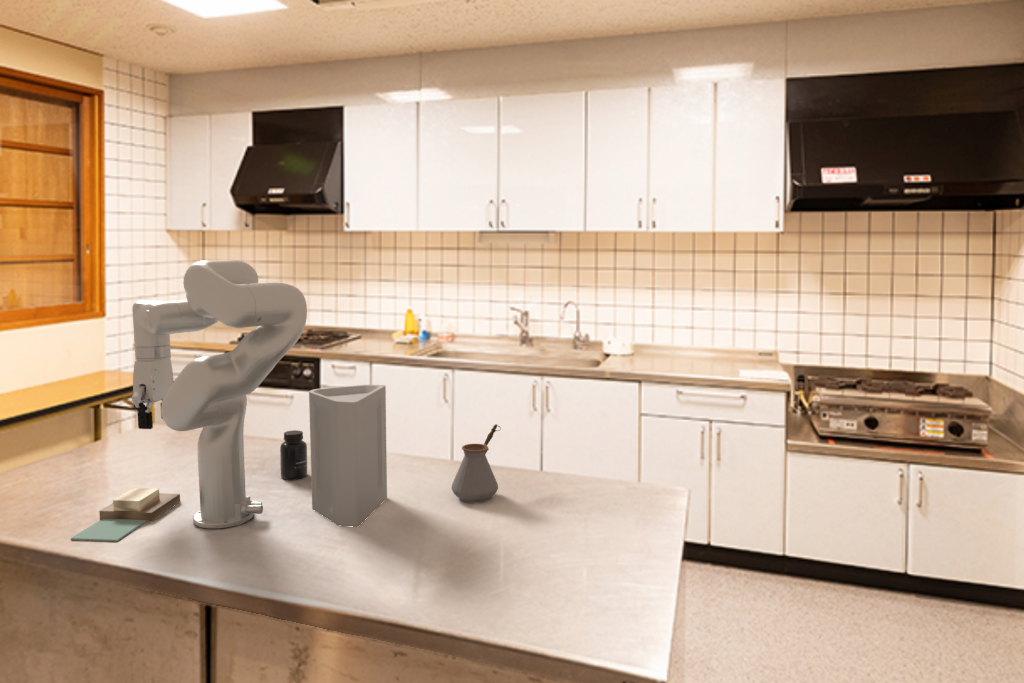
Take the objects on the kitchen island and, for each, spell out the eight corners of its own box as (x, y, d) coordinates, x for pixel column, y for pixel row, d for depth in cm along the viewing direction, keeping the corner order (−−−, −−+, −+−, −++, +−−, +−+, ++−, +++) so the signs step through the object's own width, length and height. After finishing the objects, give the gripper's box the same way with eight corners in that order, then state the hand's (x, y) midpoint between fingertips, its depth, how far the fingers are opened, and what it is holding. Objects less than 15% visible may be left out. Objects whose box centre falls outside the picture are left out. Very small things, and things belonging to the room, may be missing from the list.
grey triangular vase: (331, 493, 176) (328, 382, 173) (388, 497, 174) (386, 385, 170) (295, 522, 158) (291, 399, 154) (358, 527, 155) (355, 402, 151)
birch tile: (159, 498, 166) (158, 488, 165) (139, 511, 158) (139, 501, 157) (134, 497, 166) (134, 488, 166) (113, 510, 158) (113, 500, 158)
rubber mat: (146, 521, 157) (146, 519, 157) (117, 541, 146) (117, 539, 146) (103, 520, 158) (103, 518, 158) (70, 539, 147) (70, 538, 147)
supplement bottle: (303, 480, 185) (301, 436, 184) (277, 480, 185) (275, 435, 184) (311, 472, 192) (309, 429, 190) (286, 471, 192) (284, 428, 191)
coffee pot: (488, 508, 167) (488, 447, 165) (443, 502, 171) (443, 442, 169) (517, 481, 187) (517, 425, 185) (476, 475, 191) (477, 421, 189)
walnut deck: (180, 501, 169) (179, 493, 169) (152, 521, 157) (151, 512, 157) (131, 500, 170) (131, 492, 170) (99, 519, 158) (99, 510, 158)
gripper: (158, 347, 176) (162, 414, 178) (115, 358, 159) (120, 432, 161) (187, 347, 176) (191, 415, 178) (147, 358, 159) (152, 433, 161)
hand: (157, 423), depth 170 cm, fingers open, 9 cm apart
